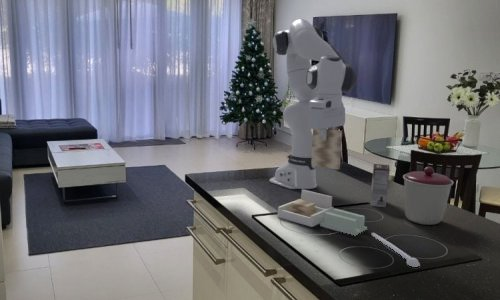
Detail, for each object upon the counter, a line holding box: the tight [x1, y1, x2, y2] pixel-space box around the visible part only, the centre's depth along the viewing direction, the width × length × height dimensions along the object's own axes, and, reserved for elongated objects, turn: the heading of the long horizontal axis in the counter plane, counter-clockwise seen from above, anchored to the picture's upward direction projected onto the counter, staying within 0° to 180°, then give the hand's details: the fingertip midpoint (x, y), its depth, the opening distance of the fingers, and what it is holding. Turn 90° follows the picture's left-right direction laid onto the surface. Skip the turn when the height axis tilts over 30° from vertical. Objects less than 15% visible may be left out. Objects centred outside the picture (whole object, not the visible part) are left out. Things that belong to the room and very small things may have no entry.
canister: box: [402, 166, 455, 226], centre depth 192 cm, size 18×18×21 cm
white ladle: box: [371, 232, 421, 267], centre depth 164 cm, size 28×4×3 cm, turn 16°
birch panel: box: [311, 128, 343, 170], centre depth 186 cm, size 11×2×14 cm, turn 51°
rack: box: [277, 189, 335, 228], centre depth 191 cm, size 15×15×8 cm
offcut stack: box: [292, 199, 315, 217], centre depth 190 cm, size 7×6×6 cm
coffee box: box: [370, 163, 391, 208], centre depth 212 cm, size 9×6×16 cm
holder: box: [319, 208, 368, 237], centre depth 182 cm, size 14×9×5 cm, turn 52°
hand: (326, 139), depth 185 cm, fingers closed on birch panel, 2 cm apart
